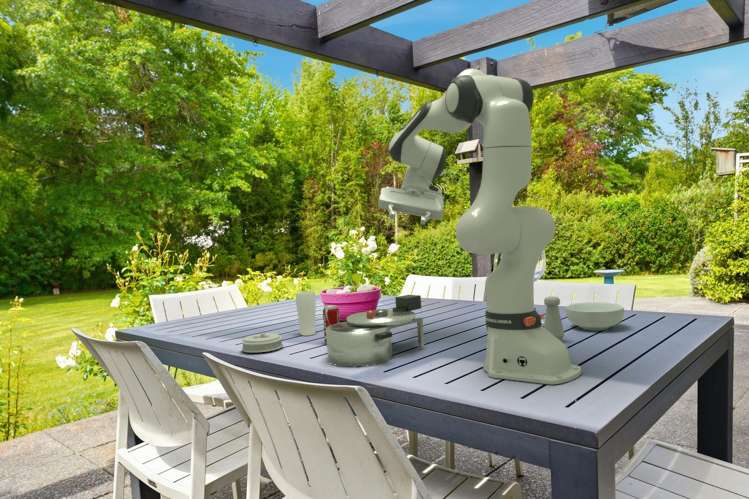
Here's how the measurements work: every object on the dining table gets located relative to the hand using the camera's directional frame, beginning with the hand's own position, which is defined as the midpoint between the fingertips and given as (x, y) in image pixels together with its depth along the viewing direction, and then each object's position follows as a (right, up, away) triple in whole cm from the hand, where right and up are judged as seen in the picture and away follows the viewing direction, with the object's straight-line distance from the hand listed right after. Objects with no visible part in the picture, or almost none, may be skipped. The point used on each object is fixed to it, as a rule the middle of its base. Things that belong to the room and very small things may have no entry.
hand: (407, 219), depth 154 cm
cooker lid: (-6, -29, -3) cm, 30 cm away
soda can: (-23, -39, +11) cm, 47 cm away
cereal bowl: (+60, -34, +9) cm, 70 cm away
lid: (-45, -41, +8) cm, 62 cm away
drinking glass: (-33, -39, +28) cm, 58 cm away
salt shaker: (+42, -36, -5) cm, 55 cm away
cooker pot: (-11, -39, -7) cm, 41 cm away
